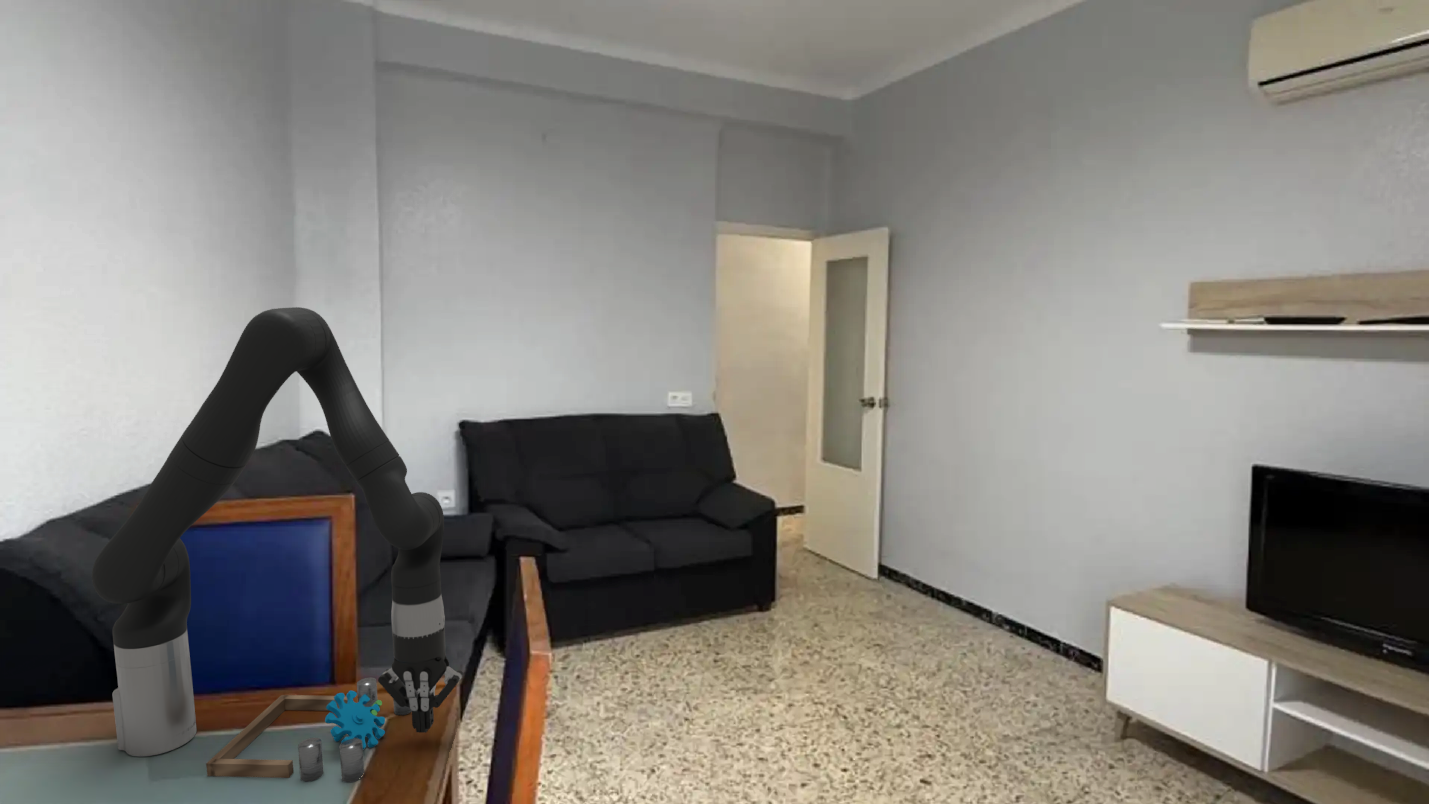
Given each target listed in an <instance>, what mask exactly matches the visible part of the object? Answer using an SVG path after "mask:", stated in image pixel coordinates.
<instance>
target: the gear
mask: <svg viewBox="0 0 1429 804" xmlns="http://www.w3.org/2000/svg"><path fill="white" fill-rule="evenodd" d="M333 696H334V700H335V701H336V702H337V703H338V705H339V708H340V709H338V707H337V703H336V702H335V701H334V700H333V701H331V702H330V703H329V704H328V705H327V706H326V709H327V710H329V712H328V713H327V715H325V719H324V722H325V723H326V724H329V725H330V724H335V725H334V726H333V727H332V728H331V729H330V730H329V731H330V732H329V733H330V735H331V736H332V737H333V741H334V742H336V743H338V742H340V744H341V743H342V742H344V741H346V740H349V739H354V738H357V739H361V740H362V744H363V750H365V748H367V747H368V748H370V749H371V748H374V747H376V746H377V745H378V744H379V740H380V739H381V738H383V736H384V735H385V733H386V731H385V730H384V729H383V728H381V727H383V725H385V723H386V718H385V716H378V713H379V712H380V711H381V710H380V709H381V708H380V707H381V706H382V705H383V702H382V700H380V699H378V700H377V701H376V702H375V703H374V704H373V705H372V706H371V707H365V706H364V705H363V704H366V703H367V702H368V701H369V700H370V698H369V697H368V696H367V695H365V694H364V695H363V696H362V697H361V698H360V699H359V702H358V701H357V702H356V701H354V699H355V698H356V697H358V694H357V691H354V690H349V691H347V693H346V695H345V693H344V692H339V693H338V692H337V693H336V694H335V695H333ZM345 696H346V697H347V704H346V703H345V702H344V698H345ZM346 735H348V736H346ZM366 738H367V739H368V740H367V743H366ZM340 740H341V741H340Z"/></svg>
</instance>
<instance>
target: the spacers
mask: <svg viewBox="0 0 1429 804" xmlns="http://www.w3.org/2000/svg"><path fill="white" fill-rule="evenodd" d="M399 680H400V679H399ZM400 681H401V680H400ZM377 685H378V684H377V678H376V677H364V678H361V679H360V680H357V682H356V690H357V691H356V693H357V703H358V702H359V699H360V698H361V697H362V696H363V695H364V694H365V695H367V696H368V697H369V698H370V700H369V701H368V702H367V703H366V704H363V705H364V706H365V707H371V706H372V705H373V704H374V703H375V702H376V701H377V700H379V699H378V686H377ZM392 700H393V713H394V714H395V715H396V716H405V715H408V714H410V713H411V714H412V711H411V709H410V708H409V707H406V706H404V707H400V706H399V705H398V704H397V702H396V701H395V700H394V699H393V698H392ZM322 744H323V743H322V739H321V738H320V737H309V738H306V739H303V740H302V741H301V742H299V744H298V747H297V748H298V760H299V761H298V762H299V763H298V764H299V774H300V775H299V776H300V781H302V782H305V783H307V782H308V783H309V782H310V783H311V782H314V781H317V780H319V779H320V778H322V777H323V776H324V757H323V746H322ZM339 757H340V758H339V759H340V774H341V781H342V782H344V783H355V782H358V781H359V778H361V776H362V775H363V773H364V774H365V763H364V749H363V744H362V740H361V739H358V738H353V739H349V740H346V741H344V742H342V743H341V742H340V744H339ZM361 779H362V778H361Z"/></svg>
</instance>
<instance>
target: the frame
mask: <svg viewBox="0 0 1429 804" xmlns="http://www.w3.org/2000/svg"><path fill="white" fill-rule="evenodd" d="M334 696H335V695H313V694H312V695H310V694H309V695H306V694H305V695H301V694H299V695H298V694H297V695H296V694H281V695H280V696H279V697H277V699H275V700H274V701H273V702H272V703H271V704H270V705H269V706H267V707H266V708H265V709H264V710H263V711H262V712H261V713H260V714H258V716H257V717H255V719H253V720H252V721H251V722H250V723H249V724H247V726H246V727H245V728H243V729H242V730H241V731H240V732H238V734H237V735H235V737H234V738H232V739H231V740H230V741H229V742H228V743H227V744H226V745H225V746H223V747H222V748H221V750H218V752H217V753H216V754H215V755H213V757H212V758H210V759H209V760H208V761H207V762H205V766H206V767H205V768H206V776H207V777H226V778H227V777H228V778H229V777H233V778H238V777H239V778H240V777H241V778H276V779H277V778H278V779H279V778H280V779H281V778H282V779H284V778H285V779H289V778H291V777H292V775H293V774H294V773H295V771H294V760H293V759H255V758H253V759H250V758H236V757H238V756H239V754H241V753H242V752H243V751H244V750H245V749H246V748H247V747H248V746H249V745H250V744H251V743H252V742H253V741H254V740H255V739H257V738H258V737H259V736H260V735H261V734H262V733H263V732H264V731H265V730H266V729H268V727H269V726H270V725H271V724H272V723H273V722H275V720H277V719H278V718H279V717H280V716H281V714H283V713H284V712H285V711H320V712H321V711H326V712H327V711H329V710H327V709H326V706H327V705H328V704H329V703H330V702H331V701H333V700H334ZM334 701H335V700H334ZM335 702H336V701H335ZM344 702H345V703H346V704H347V697H346V695H345V698H344ZM336 703H337V702H336ZM337 707H338V709H340V708H339V705H338V703H337ZM329 712H330V711H329Z"/></svg>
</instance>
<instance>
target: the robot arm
mask: <svg viewBox="0 0 1429 804" xmlns="http://www.w3.org/2000/svg"><path fill="white" fill-rule="evenodd" d="M294 373H297V374H299V376H300V377H301V378H302V379H303V381H304V382H305V383H306V384H307V385H308V387H310V389H311V390H312V392H313V393H314V395H315V397H316V399H317V400H318V403H319V405H320V408H321V409H322V413H323V416H324V417H325V421H326V425H327V429H328V434H329V435H330V438H331V442H332V444H333V446H334V449H335V451H336V453H337V455H338V457H339V458H340V460H341V461H342V463H343V464H344V466H345V468H346V469H347V470H348V472H349V473H350V476H351V477H352V478H353V479H354V481H355V482H356V484H357V485H358V486H359V488H360V489H361V490H362V492H363V496H364V498H365V501H366V504H367V508H368V510H369V512H370V514H371V516H372V519H373V521H374V524H375V526H376V528H377V530H378V531H379V533H380V535H381V536H382V538H384V540H385V541H386V542H387V543H388V544H389V545H391V546H392V547H394V548H396V549H398V553H397V557H396V559H395V561H394V563H393V565H392V567H391V574H390V580H391V581H390V585H391V601H392V603H391V612H390V614H391V634H392V636H391V637H392V652H393V653H392V654H393V657H394V658H393V661H392V663H391V668H387V669H386V670H384V672H383V673H381V675H380V676H379V677H378V679H377V681H378V683H379V684H380V686H382V688H383V689H384V690H385V691H386V692H387V694H388V695H389V696H390V697H391V698H392V700H393V699H394V700H395V701H396V702H397V704H398V705H399V706H400V707H404V706H406V707H409V708H410V709H411V711H412V712H411V722H412V724H411V725H412V726H411V727H413V730H414V729H415V732H416V733H427V732H428V731H429V730H430V729H431V727H432V726H433V725H434V722H435V721H434V720H435V719H434V718H435V717H434V709H438V708H439V707H440V706H441V705H442V704H443V702H444V701H445V700H446V699H447V697H449V695H450V693H452V691H453V690H454V689H455V687H456V686H457V685H458V684H459V682H460V680H461V679H462V678H463V677H464V672H463V671H462V670H460V669H459V670H454V669H453V668H452V667H450V662H449V659H448V658H447V656H446V654H447V653H446V650H447V649H446V630H445V628H446V627H445V626H446V625H445V622H446V615H445V608H444V601H443V597H442V596H443V595H442V583H441V582H442V580H441V579H442V578H441V567H440V564H441V556H442V552H443V550H442V549H443V541H444V532H445V516H444V509H443V507H442V505H441V503H440V501H439V500H438V499H437V498H436V497H435V496H434V495H432V494H430V493H427V492H423V491H418V492H414V493H412V492H411V490H410V488H409V486H408V484H407V482H406V476H407V474H408V468H407V466H406V464H405V462H404V460H403V459H402V456H400V454H399V452H398V451H397V449H396V448H395V447H394V445H393V443H392V442H391V440H390V439H389V437H388V436H387V434H386V433H385V432H384V429H383V428H382V427H381V426H380V424H379V422H378V421H377V419H376V417H375V416H374V414H373V413H372V411H371V409H370V407H369V406H368V403H367V402H366V400H365V398H364V396H363V395H362V393H361V391H360V389H359V387H358V385H357V383H356V381H355V378H354V377H353V375H352V373H351V371H350V369H349V366H348V364H347V363H346V360H345V357H344V355H343V354H342V351H341V349H340V346H339V344H338V342H337V340H336V338H335V335H334V334H333V331H332V330H331V328H330V326H329V324H328V323H327V321H326V320H325V319H324V317H322V316H321V315H320V314H319V313H318V312H316V311H315V310H312V309H309V308H305V307H297V306H296V307H280V308H279V307H278V308H271V309H267V310H264V311H262V312H260V313H258V314H256V315H255V316H253V318H252V319H250V321H249V322H248V323H247V324H246V326H245V327H244V329H243V331H242V333H241V334H240V337H239V338H238V341H237V342H236V346H235V347H234V349H233V352H231V355H230V357H229V359H228V361H227V363H226V365H225V368H224V370H223V371H222V373H221V376H220V377H219V379H218V381H217V382H216V384H215V385H214V387H213V388H212V390H211V392H210V393H209V394H208V395H207V397H206V399H205V400H204V402H203V403H202V404H201V406H200V408H199V410H198V411H197V413H196V414H195V416H194V417H193V419H192V420H191V421H190V423H189V424H188V425H187V427H186V428H185V430H184V431H183V433H182V435H181V436H180V437H179V439H178V440H177V442H176V443H175V445H174V447H173V448H172V449H171V451H170V453H169V455H168V456H167V458H166V459H165V462H164V464H162V466H161V468H160V469H159V471H158V473H157V474H156V475H155V476H154V479H153V480H152V482H151V483H150V485H149V486H148V488H147V490H146V491H145V493H144V494H143V496H142V498H141V499H140V501H139V502H138V504H137V506H136V507H135V509H134V510H133V511H132V513H131V514H130V515H129V517H128V518H127V519H126V520H125V522H124V523H123V524H122V525H121V527H120V528H119V529H117V531H116V533H114V535H113V536H112V537H110V540H108V542H107V543H106V544H105V545H104V546H103V548H102V549H101V550H100V552H99V553H98V554H97V556H96V558H95V560H94V563H93V565H92V569H91V570H92V571H91V581H92V586H93V588H94V590H95V592H96V593H97V595H98V596H99V597H100V598H101V599H102V600H104V601H105V602H108V603H111V604H117V605H122V604H123V605H124V604H126V607H125V609H124V610H123V612H122V613H121V615H120V616H119V617H118V619H116V621H115V622H114V624H113V626H112V641H113V649H114V650H113V651H114V659H115V669H116V677H117V686H118V687H117V688H115V689H114V690H113V692H112V696H111V697H112V704H113V714H114V721H115V729H116V730H115V731H116V740H117V741H116V742H117V749H118V751H124V752H126V754H127V755H129V756H133V757H151V756H156V755H160V754H164V753H168V752H170V751H173V750H176V749H177V748H179V747H181V746H184V745H185V744H186V743H189V741H191V740H192V739H193V738H194V737H195V736H196V734H197V731H198V730H197V721H196V712H195V711H196V710H195V697H194V688H193V687H194V685H193V676H192V665H191V657H190V655H191V654H190V646H189V634H188V625H187V624H188V623H187V622H188V617H189V614H190V611H191V606H192V595H191V594H192V588H191V582H192V581H191V565H190V564H191V563H190V556H189V552H188V549H187V547H186V544H185V543H184V542H183V540H182V539H181V537H182V536H183V534H184V533H185V532H187V530H188V529H189V528H190V527H192V526H193V525H194V524H195V523H196V522H197V521H198V520H199V519H200V518H202V517H203V516H204V515H205V514H206V513H207V512H208V511H210V509H212V507H213V506H214V505H216V504H217V503H218V502H219V501H220V500H221V499H222V498H223V496H225V494H227V493H228V491H229V490H230V489H231V487H232V486H233V485H234V484H235V482H236V481H237V480H238V478H239V476H241V474H242V472H243V471H244V469H245V468H246V466H247V464H248V463H249V461H250V460H251V459H252V457H253V455H254V453H255V451H256V448H257V445H258V441H259V437H260V436H259V435H260V430H261V424H262V419H263V416H264V414H265V413H264V412H266V409H267V408H268V406H269V404H270V402H271V401H272V399H274V397H275V396H276V394H277V393H278V391H279V390H280V389H281V387H282V386H283V385H284V384H285V382H286V381H288V379H289V378H290V377H291V376H292V375H293V374H294ZM443 675H444V678H443V682H444V685H445V686H443V688H442V689H441V690H440V691H439V693H438V694H435V692H436V687H437V684H438V682H439V681H440V680H441V678H442V677H443ZM399 679H400V680H401V681H400V680H399ZM394 700H393V701H394Z"/></svg>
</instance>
